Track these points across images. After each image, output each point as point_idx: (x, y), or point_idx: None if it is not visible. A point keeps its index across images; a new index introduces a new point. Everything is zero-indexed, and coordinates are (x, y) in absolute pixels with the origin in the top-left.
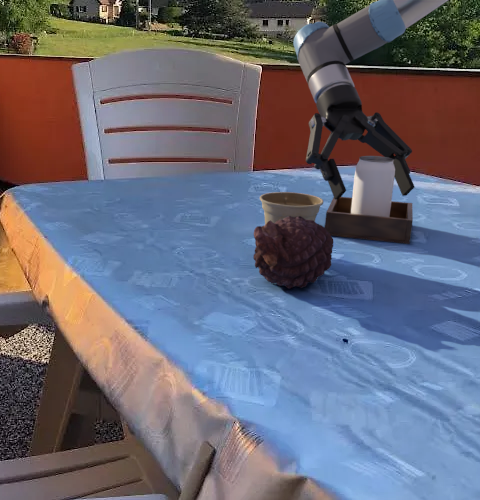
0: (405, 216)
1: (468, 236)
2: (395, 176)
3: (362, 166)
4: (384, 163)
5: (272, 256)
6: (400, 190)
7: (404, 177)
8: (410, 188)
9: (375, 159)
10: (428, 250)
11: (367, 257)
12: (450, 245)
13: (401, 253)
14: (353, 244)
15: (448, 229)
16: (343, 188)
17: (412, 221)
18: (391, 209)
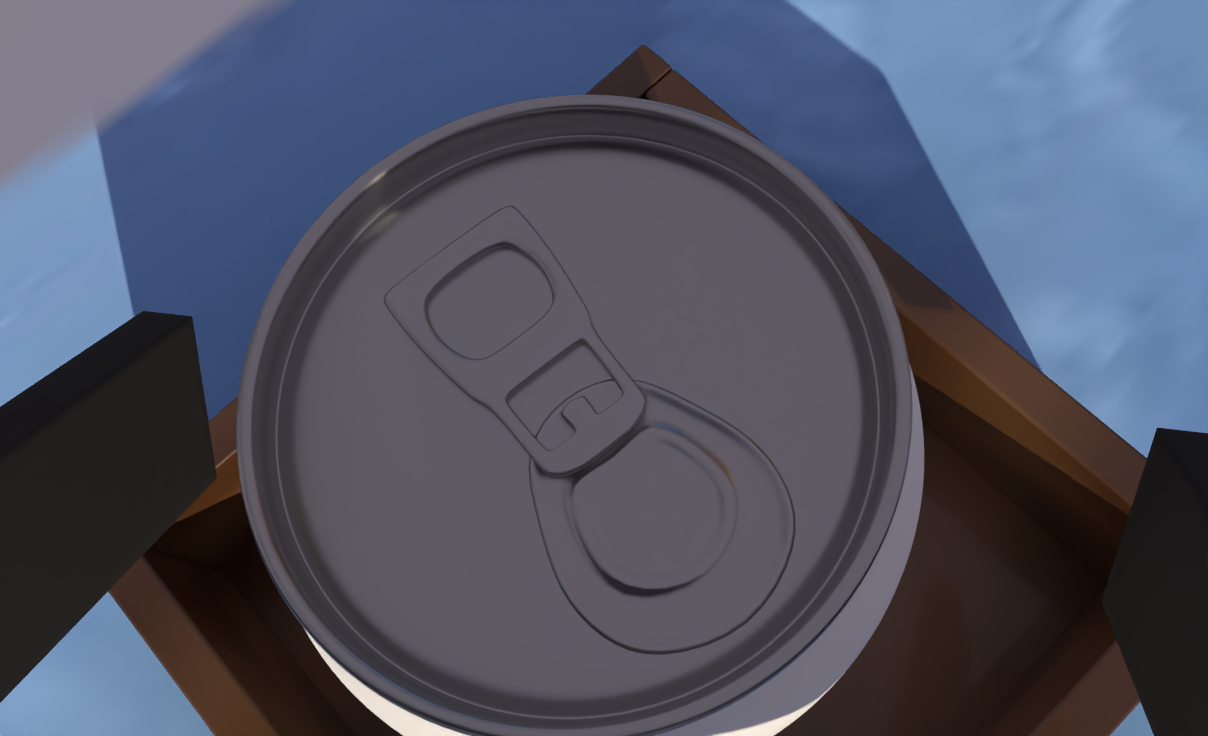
0: (199, 566)
1: (100, 165)
2: (46, 632)
3: (912, 406)
4: (647, 129)
5: None
6: (176, 517)
7: (95, 429)
8: (188, 340)
9: (535, 447)
10: (643, 16)
11: (1166, 22)
12: (410, 52)
13: (870, 20)
14: (1068, 284)
15: (43, 348)
16: (1199, 452)
17: (642, 51)
18: (253, 661)
